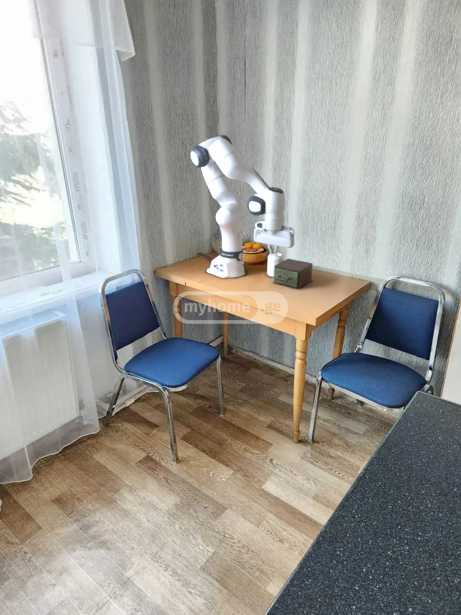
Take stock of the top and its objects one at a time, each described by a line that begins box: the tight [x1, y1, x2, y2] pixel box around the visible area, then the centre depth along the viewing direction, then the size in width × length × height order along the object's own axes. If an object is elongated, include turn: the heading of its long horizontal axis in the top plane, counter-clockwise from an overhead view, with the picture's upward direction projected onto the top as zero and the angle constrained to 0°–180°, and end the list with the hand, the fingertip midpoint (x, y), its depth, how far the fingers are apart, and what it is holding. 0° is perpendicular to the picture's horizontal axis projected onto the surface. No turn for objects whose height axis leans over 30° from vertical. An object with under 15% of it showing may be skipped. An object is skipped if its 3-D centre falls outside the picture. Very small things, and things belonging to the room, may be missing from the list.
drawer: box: [273, 268, 299, 288], centre depth 207 cm, size 18×13×8 cm
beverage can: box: [266, 252, 284, 278], centre depth 218 cm, size 8×8×12 cm
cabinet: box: [273, 258, 313, 289], centre depth 210 cm, size 15×15×10 cm
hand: (273, 253), depth 187 cm, fingers closed
